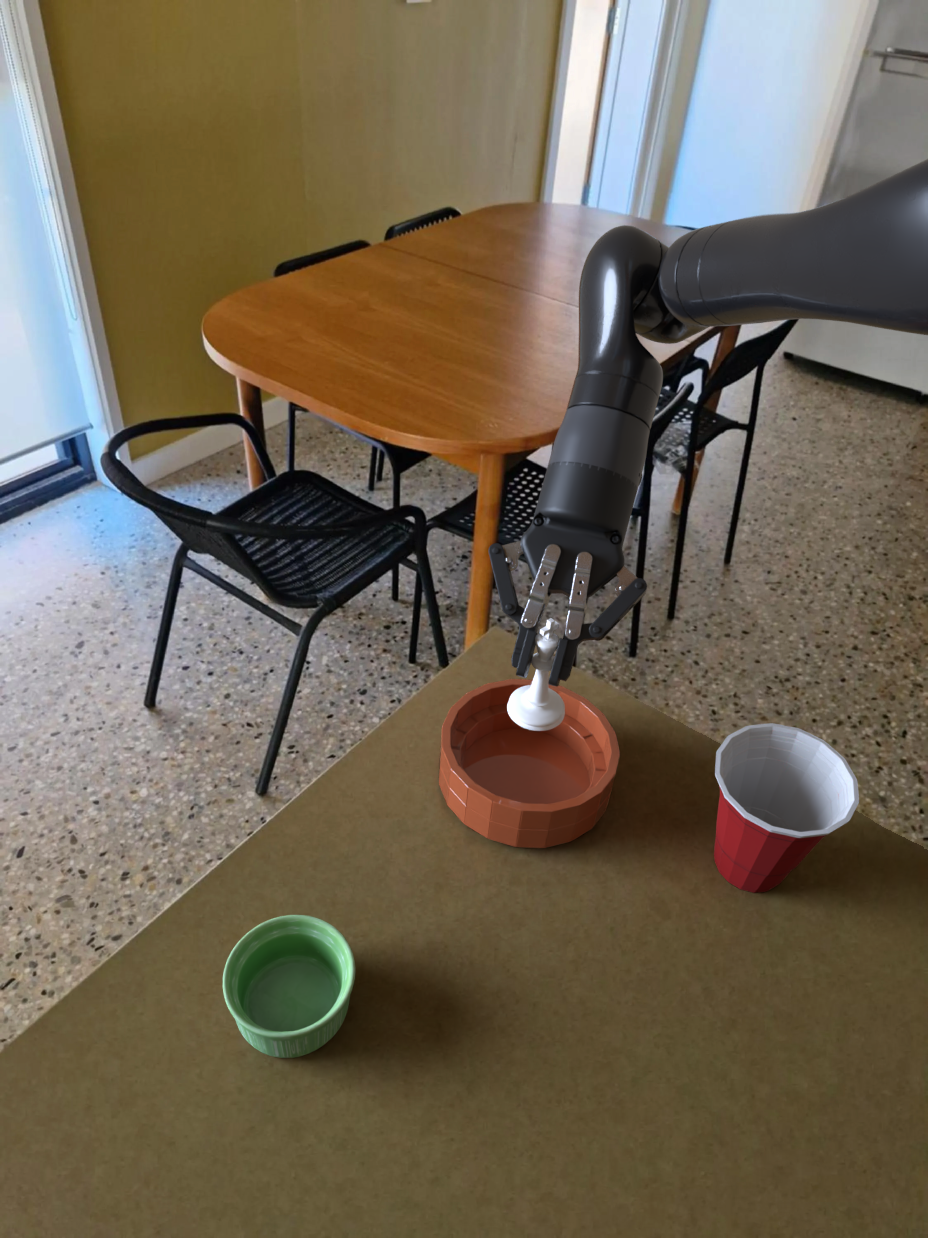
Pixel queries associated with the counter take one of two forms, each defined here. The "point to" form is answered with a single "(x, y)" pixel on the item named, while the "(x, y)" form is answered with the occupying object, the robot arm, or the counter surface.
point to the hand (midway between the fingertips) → (537, 680)
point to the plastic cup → (776, 802)
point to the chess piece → (539, 688)
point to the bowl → (526, 768)
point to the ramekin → (289, 984)
